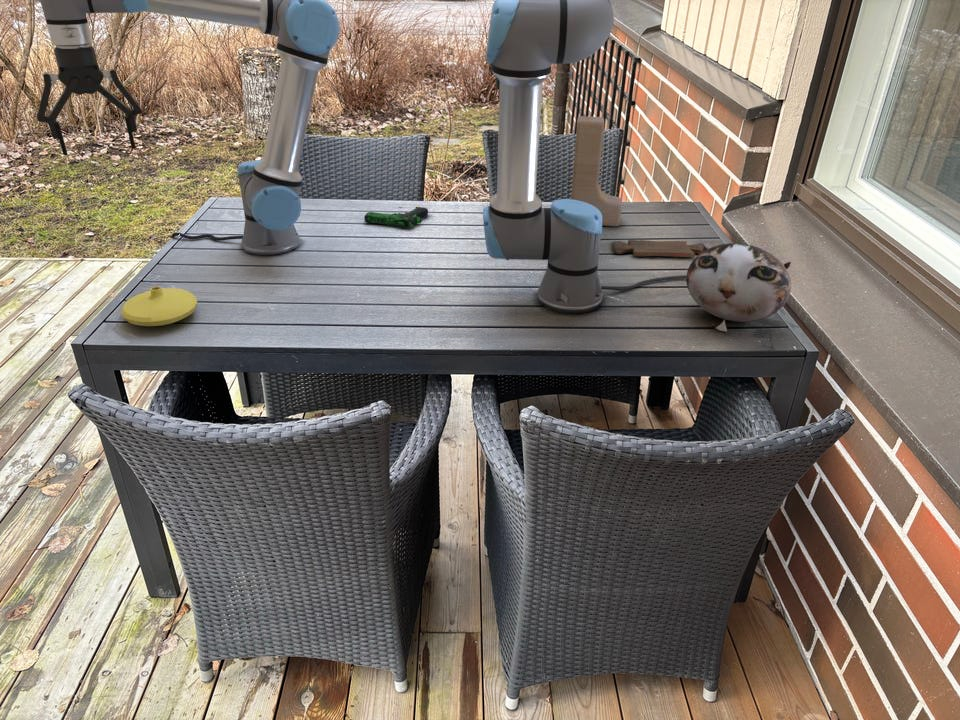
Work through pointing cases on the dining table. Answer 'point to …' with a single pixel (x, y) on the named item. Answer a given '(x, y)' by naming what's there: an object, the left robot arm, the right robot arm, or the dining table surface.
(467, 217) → the dining table surface
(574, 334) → the dining table surface
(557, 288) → the right robot arm
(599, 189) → the decorative block
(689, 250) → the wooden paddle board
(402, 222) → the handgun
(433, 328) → the dining table surface
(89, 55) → the left robot arm
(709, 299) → the plush toy
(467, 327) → the dining table surface
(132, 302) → the vase
